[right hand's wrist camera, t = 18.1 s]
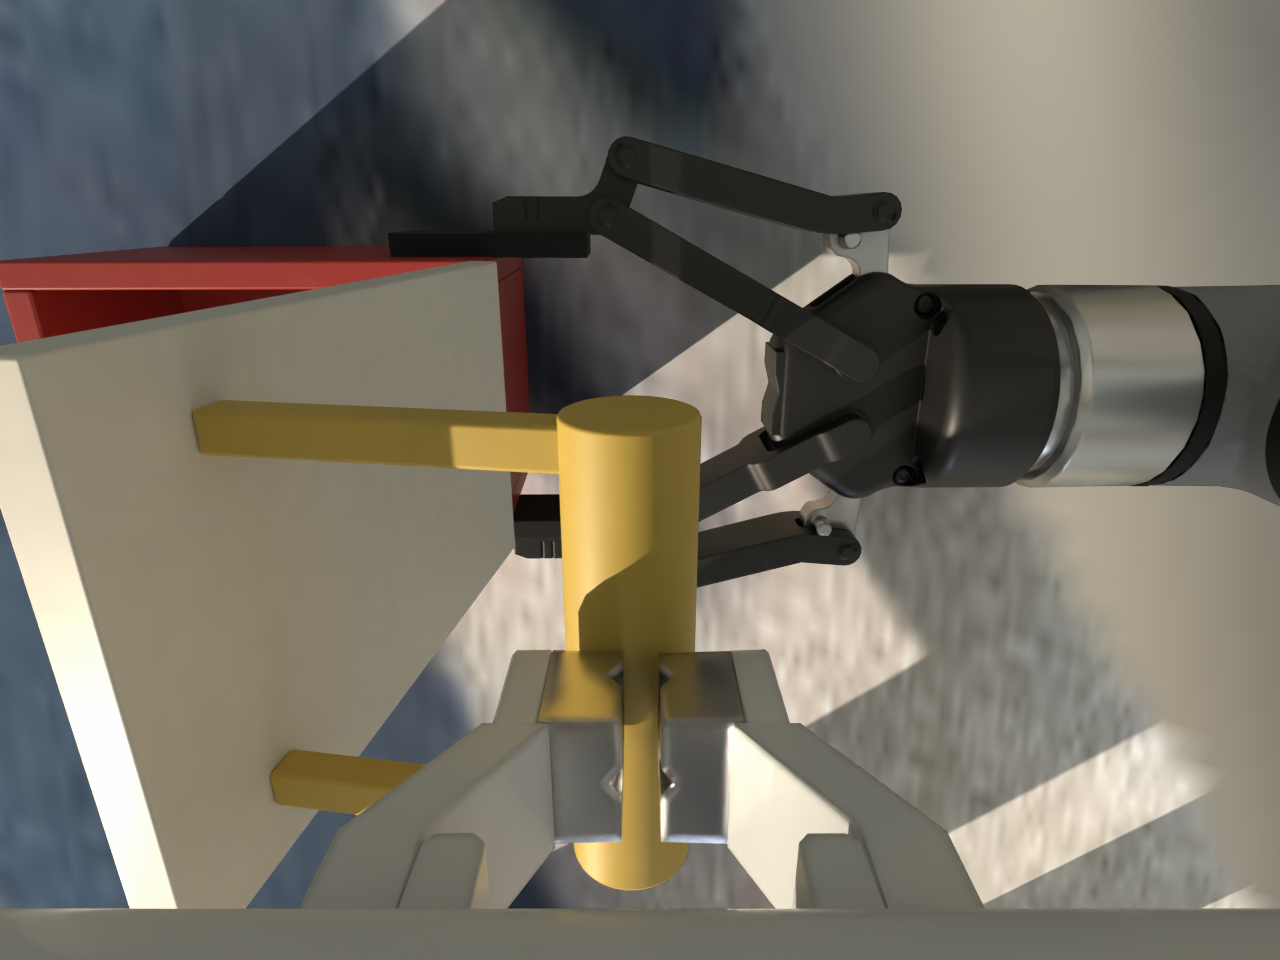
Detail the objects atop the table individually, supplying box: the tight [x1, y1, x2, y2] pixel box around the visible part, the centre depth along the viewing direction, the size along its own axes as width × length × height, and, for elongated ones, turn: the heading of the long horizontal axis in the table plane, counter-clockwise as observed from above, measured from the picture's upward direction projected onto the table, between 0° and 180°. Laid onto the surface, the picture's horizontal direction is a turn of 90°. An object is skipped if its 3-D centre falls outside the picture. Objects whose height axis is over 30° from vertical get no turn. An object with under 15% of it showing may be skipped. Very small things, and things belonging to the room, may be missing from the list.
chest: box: [0, 246, 530, 514], centre depth 29 cm, size 15×10×9 cm, turn 90°
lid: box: [0, 261, 702, 909], centre depth 16 cm, size 16×10×8 cm
